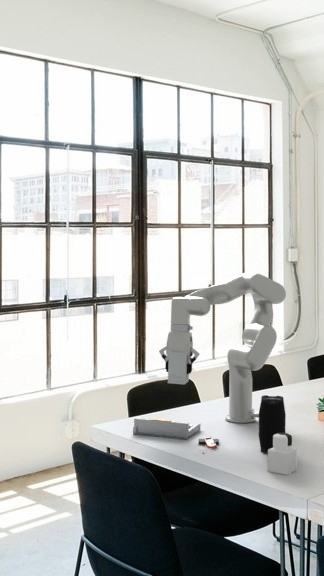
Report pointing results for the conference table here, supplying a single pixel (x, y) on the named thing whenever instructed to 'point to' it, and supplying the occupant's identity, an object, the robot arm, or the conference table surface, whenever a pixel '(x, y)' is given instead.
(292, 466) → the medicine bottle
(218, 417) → the conference table surface
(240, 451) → the conference table surface
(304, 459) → the conference table surface
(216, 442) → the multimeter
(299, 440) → the conference table surface
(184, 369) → the supplement box
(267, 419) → the portable speaker
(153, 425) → the grey tray
